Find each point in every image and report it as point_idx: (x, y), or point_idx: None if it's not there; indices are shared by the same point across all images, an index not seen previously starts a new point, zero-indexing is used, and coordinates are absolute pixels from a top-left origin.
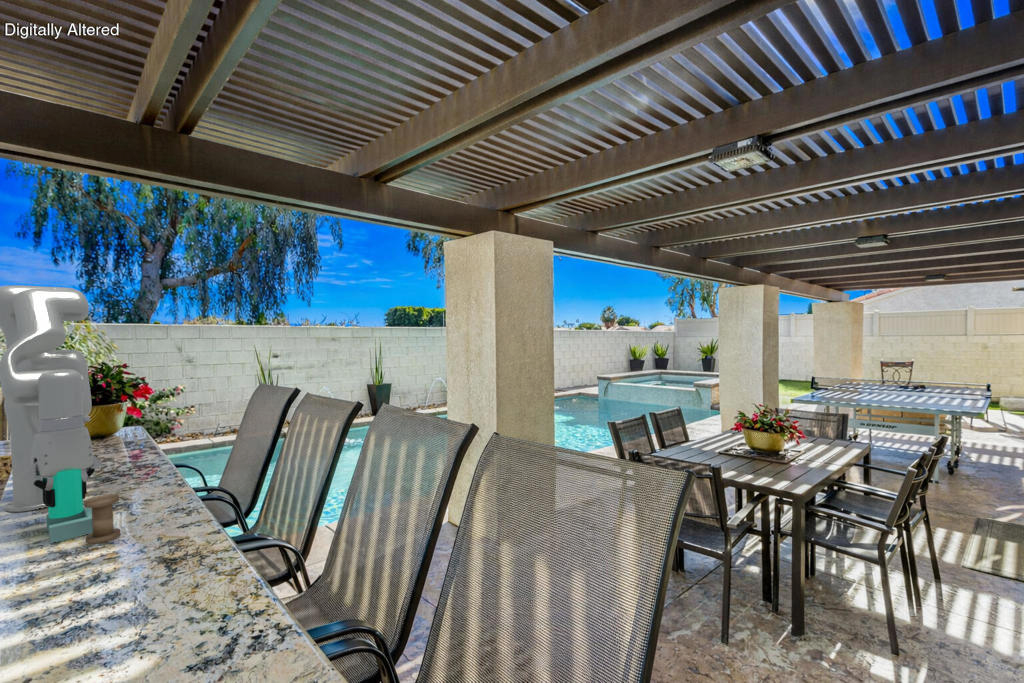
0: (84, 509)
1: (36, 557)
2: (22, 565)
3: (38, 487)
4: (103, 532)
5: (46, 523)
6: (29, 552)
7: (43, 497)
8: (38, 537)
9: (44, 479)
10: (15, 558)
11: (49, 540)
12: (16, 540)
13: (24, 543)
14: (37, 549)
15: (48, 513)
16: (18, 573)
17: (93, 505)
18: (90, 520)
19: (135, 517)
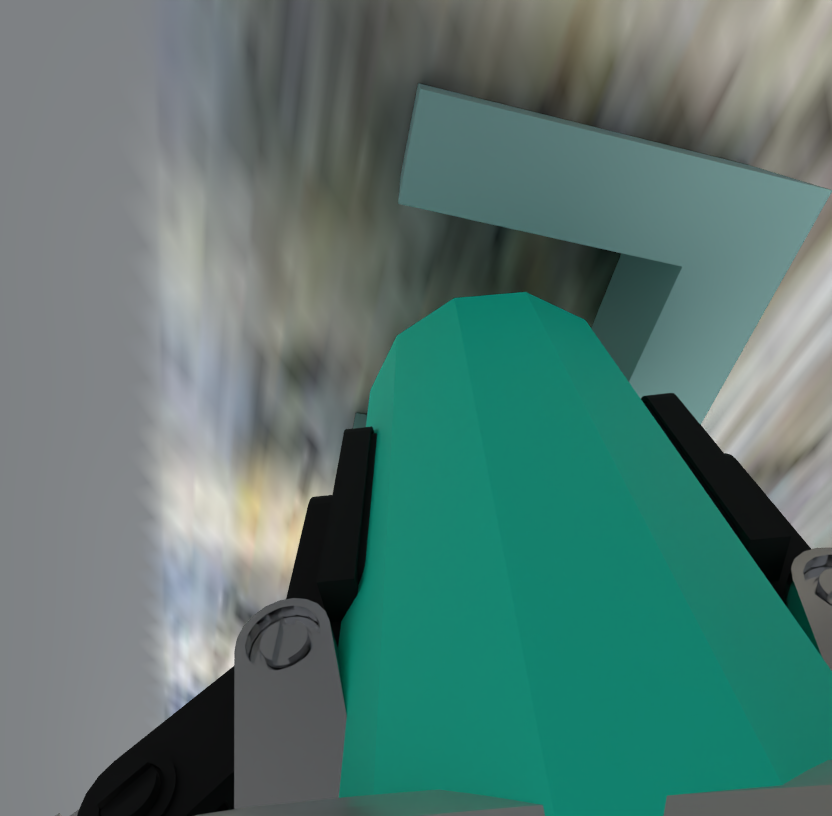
0: (674, 288)
1: (263, 586)
2: (209, 623)
3: (215, 693)
4: None
5: (418, 86)
6: (248, 500)
7: (304, 552)
8: (327, 264)
9: (280, 796)
10: (189, 526)
11: (353, 426)
12: (205, 180)
13: (243, 316)
14: (283, 491)
15: (367, 414)
16: (193, 679)
17: None
18: None
19: (824, 426)
